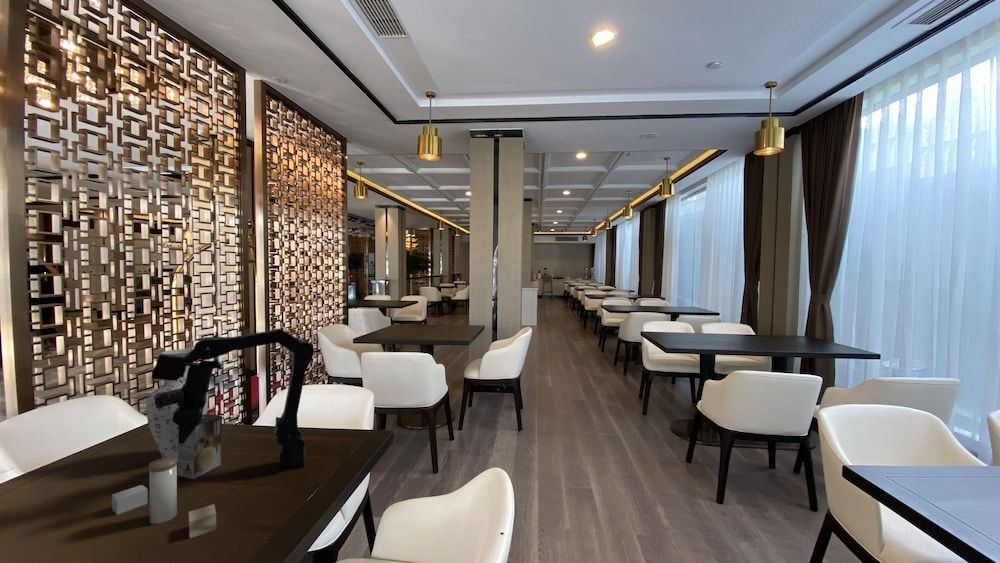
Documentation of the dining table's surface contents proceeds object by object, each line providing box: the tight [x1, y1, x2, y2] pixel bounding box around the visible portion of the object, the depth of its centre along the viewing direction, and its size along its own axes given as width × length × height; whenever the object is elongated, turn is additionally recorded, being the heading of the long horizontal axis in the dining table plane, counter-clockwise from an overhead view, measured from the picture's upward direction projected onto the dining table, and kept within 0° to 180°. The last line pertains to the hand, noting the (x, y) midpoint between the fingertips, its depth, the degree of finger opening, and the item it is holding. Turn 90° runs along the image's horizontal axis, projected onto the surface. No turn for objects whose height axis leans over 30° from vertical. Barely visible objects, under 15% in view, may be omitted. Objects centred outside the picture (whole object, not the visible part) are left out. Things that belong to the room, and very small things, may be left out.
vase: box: [145, 348, 209, 462], centre depth 134 cm, size 16×16×35 cm
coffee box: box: [177, 413, 223, 480], centre depth 124 cm, size 9×6×16 cm
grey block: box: [111, 484, 149, 516], centre depth 105 cm, size 6×4×4 cm, turn 147°
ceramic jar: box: [148, 457, 178, 525], centre depth 100 cm, size 5×5×14 cm
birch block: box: [188, 503, 217, 539], centre depth 96 cm, size 5×5×4 cm
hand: (183, 437), depth 113 cm, fingers open, 9 cm apart
